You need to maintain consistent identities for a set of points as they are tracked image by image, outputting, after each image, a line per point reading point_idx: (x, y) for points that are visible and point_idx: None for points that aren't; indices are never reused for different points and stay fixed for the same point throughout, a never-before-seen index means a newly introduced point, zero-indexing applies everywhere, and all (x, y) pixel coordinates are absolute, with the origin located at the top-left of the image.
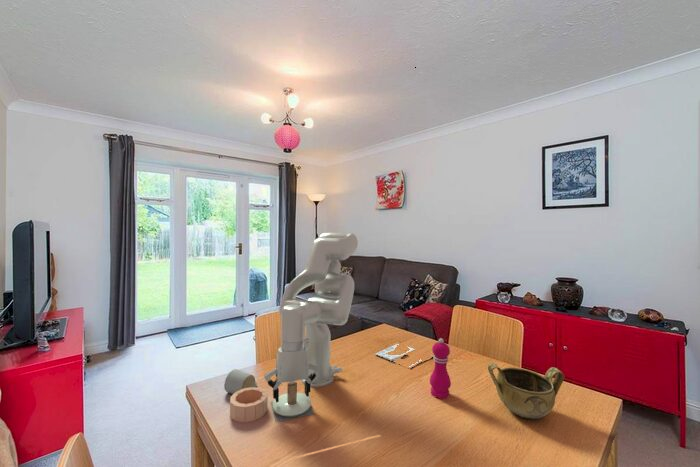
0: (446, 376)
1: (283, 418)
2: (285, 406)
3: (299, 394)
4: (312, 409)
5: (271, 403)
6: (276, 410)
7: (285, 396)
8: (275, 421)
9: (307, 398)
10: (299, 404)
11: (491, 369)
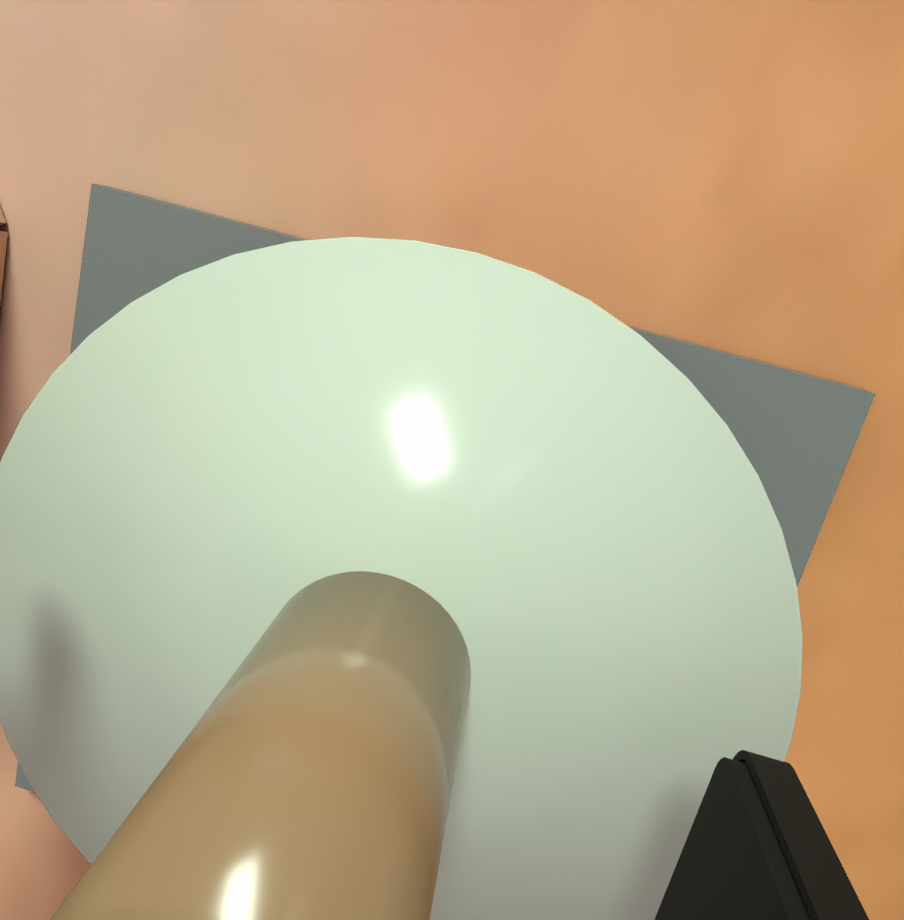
0: None
1: None
2: (195, 712)
3: (670, 489)
4: None
5: (97, 237)
6: (2, 724)
7: (335, 371)
8: (20, 773)
9: (731, 741)
10: (465, 820)
11: None
